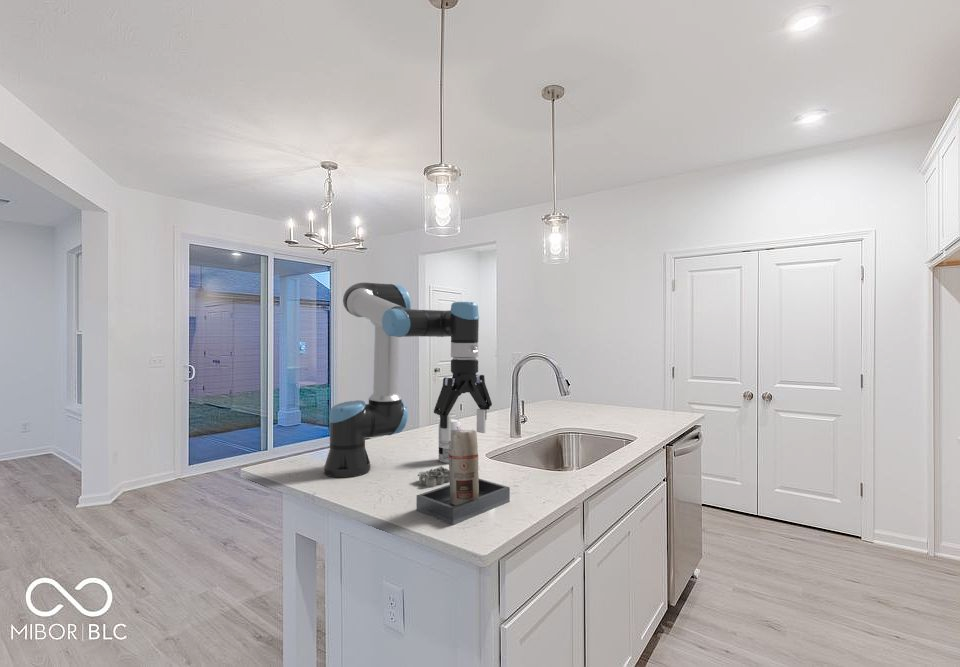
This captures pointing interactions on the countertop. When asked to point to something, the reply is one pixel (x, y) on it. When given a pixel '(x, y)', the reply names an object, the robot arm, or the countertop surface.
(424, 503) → the grey soap tray
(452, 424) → the supplement can
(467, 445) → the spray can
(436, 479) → the potted succulents
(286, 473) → the countertop surface
